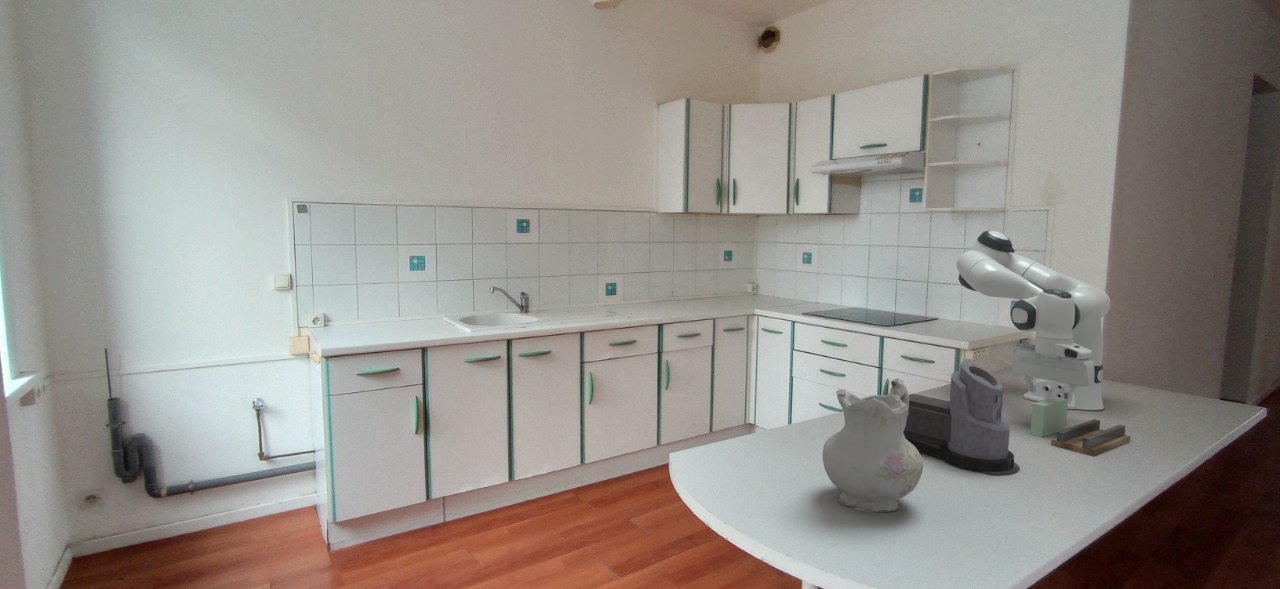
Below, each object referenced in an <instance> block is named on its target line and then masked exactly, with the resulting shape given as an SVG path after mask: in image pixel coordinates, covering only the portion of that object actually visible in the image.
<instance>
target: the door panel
mask: <svg viewBox="0 0 1280 589" xmlns="http://www.w3.org/2000/svg"><path fill="white" fill-rule="evenodd" d="M1067 406H1068V400H1067V399H1064V398H1060V397H1054V398H1051V399H1047V400H1043V401H1040V402H1038V401H1035V402H1032V410H1031V420H1030V421H1031V423H1030V435H1032V436H1035V437H1040V438H1044V437H1047V436H1050V435H1052V434H1053V435H1054V434H1056V433H1057V432H1058V431H1061V430H1064V429H1067V415H1068V409H1067Z"/></svg>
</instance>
